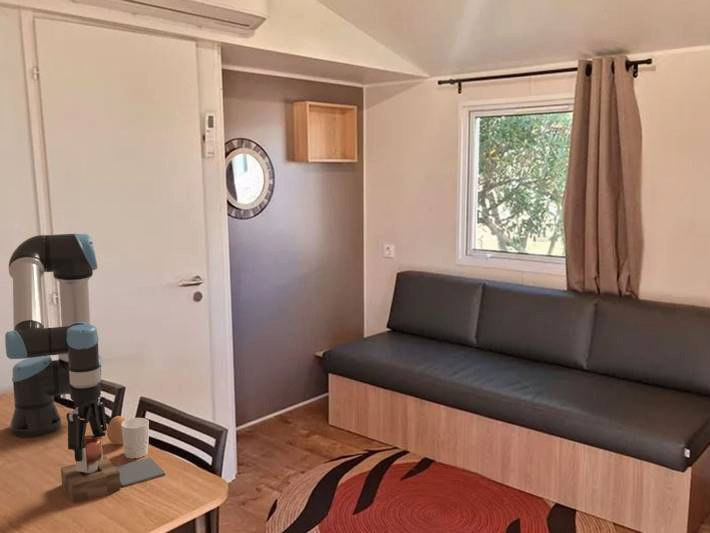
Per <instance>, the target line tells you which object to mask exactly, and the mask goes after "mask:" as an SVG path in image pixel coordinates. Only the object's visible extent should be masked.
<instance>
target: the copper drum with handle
mask: <svg viewBox="0 0 710 533" xmlns="http://www.w3.org/2000/svg"><path fill="white" fill-rule="evenodd" d="M83 448H86V462H87V471H86V472H82V475H83V476H86V475H89V474H93V473H97V472H98V462H97V461H98V460H99V459H101V457H102V456H103V447H102V448H101V438H100V437H99V436H95V435H93V434H92V435H85V440H84V447H83Z"/></svg>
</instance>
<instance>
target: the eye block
mask: <svg viewBox="0 0 710 533" xmlns="http://www.w3.org/2000/svg"><path fill="white" fill-rule="evenodd" d="M97 462H98V472H97V473H93V474H89V475H86V476H83V475H82V472H80V471H76V463H73V464H71V465H70V464H69V465H67V466H66V465H65V466H63V467H60V473H61V474H60V475H61V485H62V487H63V489H64V490H65V492H66V493H67V494H68V496H69V498H70V499H71V501H72V503H73V504H75V503H79V502H82V501H86V500H90V499H93V498H97V497H101V496H104V495H106V494H110V493H113V492H114V493H115V492H118V491H120V490H121V484H120V472H119V471H118V470H117V469H116V468H115V467H116V466H115V465H114V464H113V462H111V461H110V460H109V458H108V457H107V455H105V456H103V459H102V460H98V461H97Z"/></svg>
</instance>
